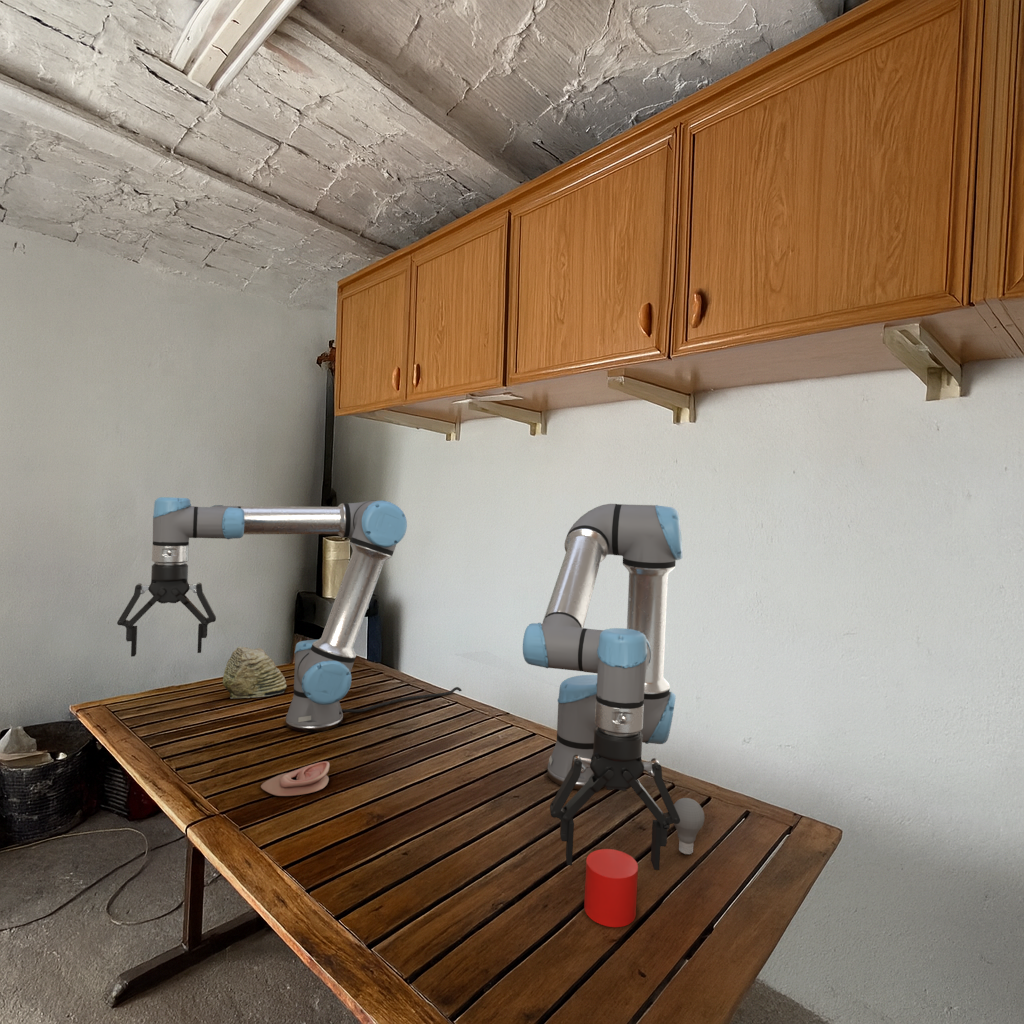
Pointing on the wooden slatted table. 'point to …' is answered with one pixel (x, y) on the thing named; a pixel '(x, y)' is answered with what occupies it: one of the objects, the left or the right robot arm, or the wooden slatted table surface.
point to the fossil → (252, 674)
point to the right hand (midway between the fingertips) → (611, 863)
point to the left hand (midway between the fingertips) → (167, 653)
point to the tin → (611, 887)
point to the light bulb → (688, 823)
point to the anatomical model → (299, 780)
